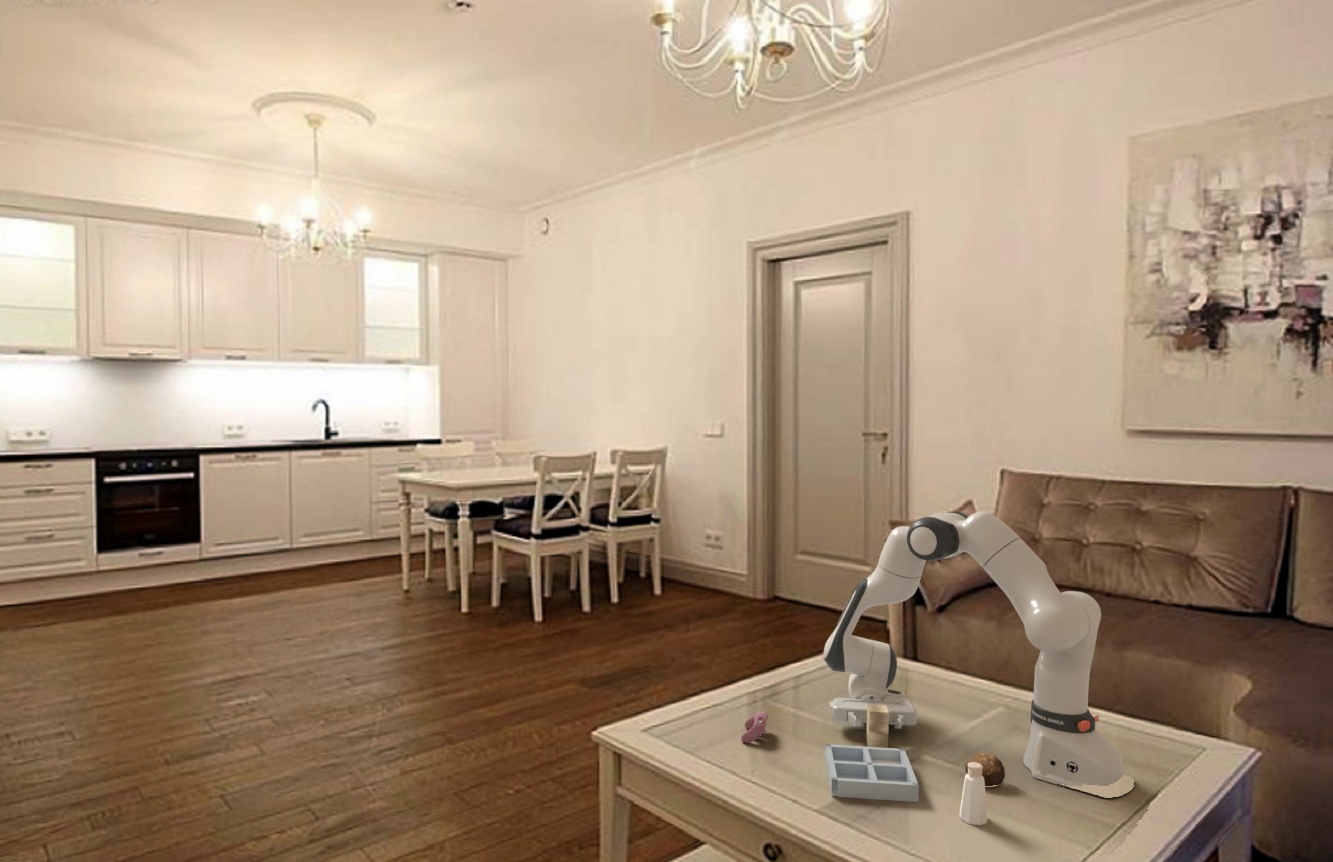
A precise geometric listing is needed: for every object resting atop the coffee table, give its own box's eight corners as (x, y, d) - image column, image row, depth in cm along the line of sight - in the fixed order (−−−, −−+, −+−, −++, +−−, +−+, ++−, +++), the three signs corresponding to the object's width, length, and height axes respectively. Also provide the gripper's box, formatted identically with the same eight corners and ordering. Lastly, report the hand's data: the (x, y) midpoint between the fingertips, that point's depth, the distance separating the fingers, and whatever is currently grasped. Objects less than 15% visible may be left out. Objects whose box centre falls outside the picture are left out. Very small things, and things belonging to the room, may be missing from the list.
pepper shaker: (978, 811, 173) (981, 757, 172) (993, 825, 167) (995, 770, 167) (953, 812, 172) (955, 759, 171) (967, 826, 167) (969, 771, 166)
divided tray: (903, 764, 193) (904, 748, 193) (918, 802, 176) (919, 785, 176) (824, 759, 195) (825, 744, 195) (831, 796, 178) (831, 780, 178)
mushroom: (975, 754, 192) (980, 739, 188) (1008, 777, 187) (1014, 763, 183) (956, 779, 188) (960, 765, 184) (989, 803, 183) (995, 789, 179)
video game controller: (756, 751, 202) (770, 727, 201) (739, 741, 203) (753, 716, 202) (759, 734, 212) (773, 711, 211) (743, 725, 213) (756, 701, 212)
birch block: (884, 742, 205) (886, 705, 205) (887, 750, 201) (888, 712, 200) (866, 741, 206) (867, 704, 205) (868, 748, 201) (869, 711, 201)
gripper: (828, 688, 218) (833, 709, 204) (911, 692, 215) (921, 713, 202) (828, 712, 218) (832, 735, 204) (910, 717, 216) (920, 740, 202)
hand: (877, 724), depth 203 cm, fingers open, 8 cm apart
